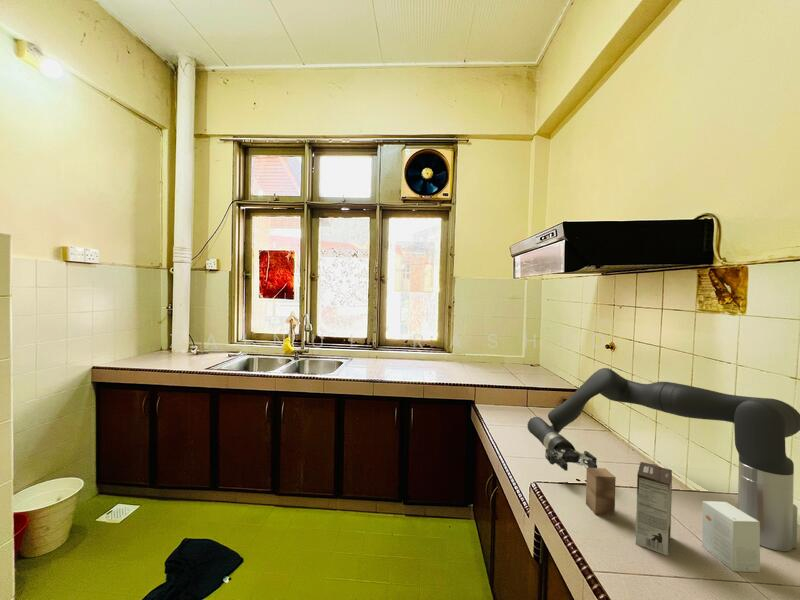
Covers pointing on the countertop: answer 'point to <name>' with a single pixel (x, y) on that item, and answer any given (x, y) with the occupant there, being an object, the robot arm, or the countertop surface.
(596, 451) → the countertop surface
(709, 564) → the countertop surface
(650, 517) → the coffee box
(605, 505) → the walnut block
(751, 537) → the small box
